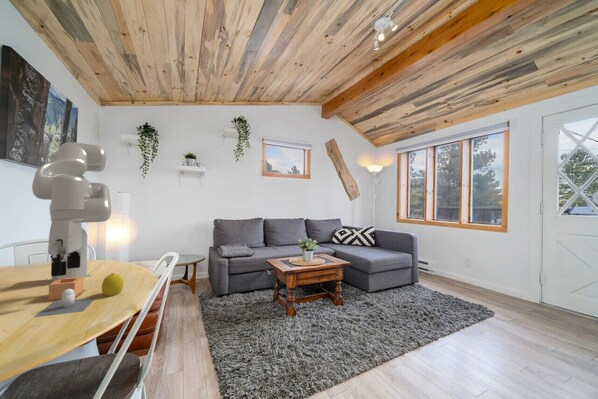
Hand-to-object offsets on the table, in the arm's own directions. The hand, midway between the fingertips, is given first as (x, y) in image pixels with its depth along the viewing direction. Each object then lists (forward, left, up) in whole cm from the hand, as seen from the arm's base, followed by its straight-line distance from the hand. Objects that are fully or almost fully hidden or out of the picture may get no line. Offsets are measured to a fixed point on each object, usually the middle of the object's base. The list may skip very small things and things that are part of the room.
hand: (66, 271), depth 77 cm
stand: (-1, 0, -9) cm, 9 cm away
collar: (-1, 0, -8) cm, 8 cm away
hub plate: (+9, +4, -9) cm, 13 cm away
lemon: (+2, +12, -9) cm, 16 cm away
